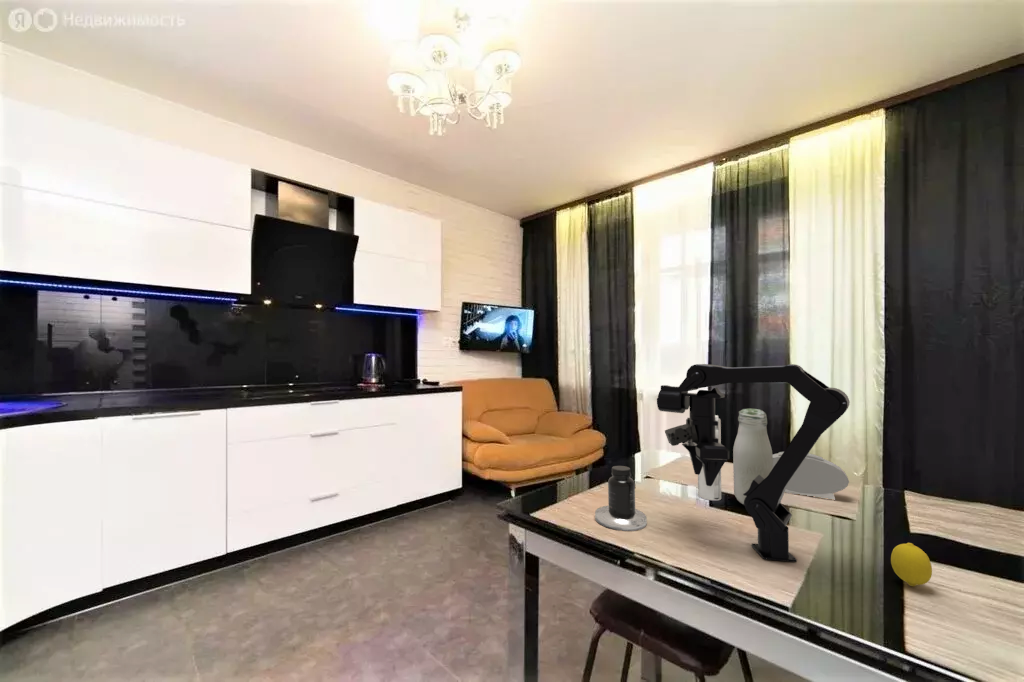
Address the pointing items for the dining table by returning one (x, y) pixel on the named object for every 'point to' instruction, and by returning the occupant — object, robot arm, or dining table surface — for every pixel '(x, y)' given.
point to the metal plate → (620, 520)
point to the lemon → (911, 564)
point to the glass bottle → (751, 451)
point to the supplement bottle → (621, 493)
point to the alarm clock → (815, 477)
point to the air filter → (715, 489)
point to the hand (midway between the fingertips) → (702, 479)
